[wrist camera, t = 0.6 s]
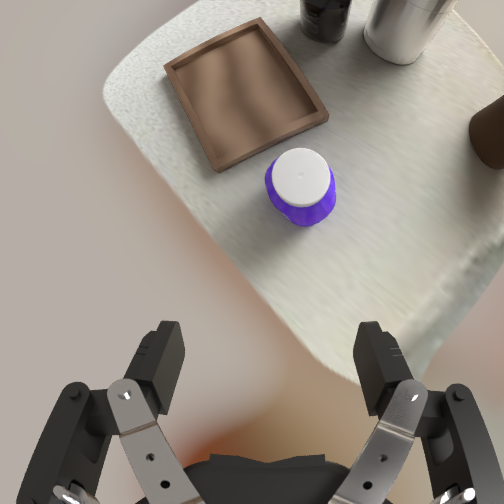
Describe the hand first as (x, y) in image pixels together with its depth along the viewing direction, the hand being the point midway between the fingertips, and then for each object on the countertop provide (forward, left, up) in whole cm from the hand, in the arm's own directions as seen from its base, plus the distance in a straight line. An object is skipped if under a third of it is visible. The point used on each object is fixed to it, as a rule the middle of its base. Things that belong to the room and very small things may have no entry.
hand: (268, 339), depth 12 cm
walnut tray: (-5, -23, -25) cm, 35 cm away
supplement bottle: (-21, -28, -26) cm, 44 cm away
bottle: (-5, -6, -26) cm, 27 cm away
